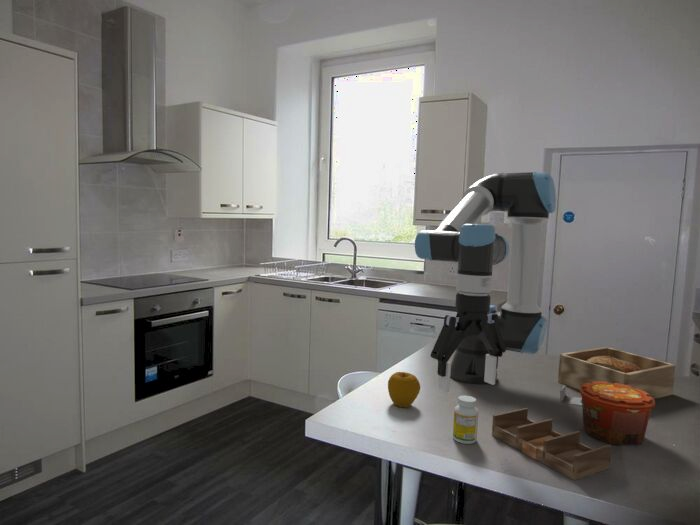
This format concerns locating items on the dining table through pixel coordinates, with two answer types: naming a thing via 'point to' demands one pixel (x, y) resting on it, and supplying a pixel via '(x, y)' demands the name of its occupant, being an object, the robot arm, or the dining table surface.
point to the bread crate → (650, 379)
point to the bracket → (573, 401)
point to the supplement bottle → (465, 420)
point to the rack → (550, 444)
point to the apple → (403, 388)
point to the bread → (614, 364)
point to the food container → (615, 412)
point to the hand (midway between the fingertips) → (467, 386)
